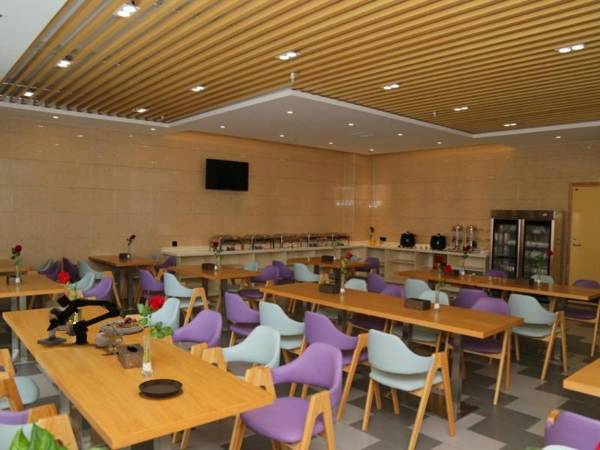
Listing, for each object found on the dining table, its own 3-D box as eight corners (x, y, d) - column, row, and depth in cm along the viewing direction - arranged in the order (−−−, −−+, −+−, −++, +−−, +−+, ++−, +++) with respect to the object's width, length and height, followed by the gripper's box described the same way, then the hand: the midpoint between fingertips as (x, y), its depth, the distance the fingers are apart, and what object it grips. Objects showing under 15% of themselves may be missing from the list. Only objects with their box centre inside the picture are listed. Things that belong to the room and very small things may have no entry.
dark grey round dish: (66, 341, 332) (66, 338, 332) (51, 345, 321) (51, 342, 321) (53, 339, 336) (53, 336, 336) (37, 343, 325) (37, 340, 325)
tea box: (61, 331, 360) (62, 310, 359) (54, 328, 366) (54, 308, 366) (81, 327, 372) (82, 307, 371) (74, 325, 378) (74, 305, 377)
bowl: (135, 336, 352) (135, 325, 352) (92, 335, 353) (92, 323, 353) (148, 327, 382) (149, 316, 382) (109, 325, 383) (109, 315, 383)
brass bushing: (73, 332, 356) (74, 320, 356) (69, 333, 352) (69, 321, 352) (69, 332, 357) (69, 319, 357) (64, 333, 354) (65, 320, 354)
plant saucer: (186, 385, 257) (186, 378, 257) (177, 400, 236) (177, 393, 236) (144, 384, 256) (145, 377, 256) (132, 399, 235) (133, 392, 235)
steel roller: (56, 341, 330) (57, 323, 330) (53, 343, 326) (53, 325, 326) (51, 341, 331) (51, 323, 330) (47, 343, 327) (47, 324, 326)
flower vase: (95, 358, 320) (110, 356, 302) (87, 329, 321) (102, 326, 303) (114, 351, 329) (130, 349, 311) (107, 323, 330) (122, 320, 312)
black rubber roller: (78, 334, 351) (78, 324, 350) (73, 336, 346) (73, 326, 346) (73, 334, 352) (73, 324, 352) (68, 335, 348) (68, 325, 348)
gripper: (65, 301, 337) (48, 317, 337) (52, 306, 319) (34, 323, 319) (76, 313, 338) (59, 329, 338) (65, 319, 319) (46, 336, 319)
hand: (50, 329), depth 328 cm, fingers open, 8 cm apart
